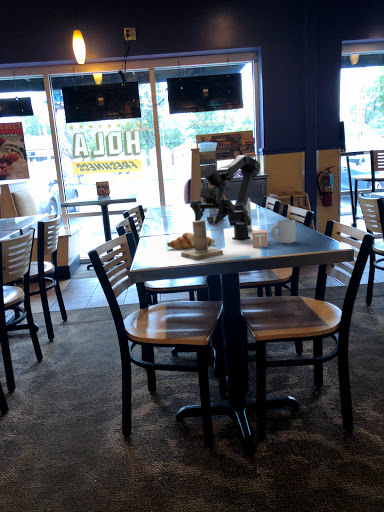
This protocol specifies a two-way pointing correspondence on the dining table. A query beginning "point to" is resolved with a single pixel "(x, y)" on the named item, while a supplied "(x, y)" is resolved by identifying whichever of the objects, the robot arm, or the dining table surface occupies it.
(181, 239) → the croissant
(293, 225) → the cup
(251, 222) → the travel mug
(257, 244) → the marked block
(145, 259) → the dining table surface
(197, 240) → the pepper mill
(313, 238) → the dining table surface
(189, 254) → the walnut board
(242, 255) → the dining table surface
